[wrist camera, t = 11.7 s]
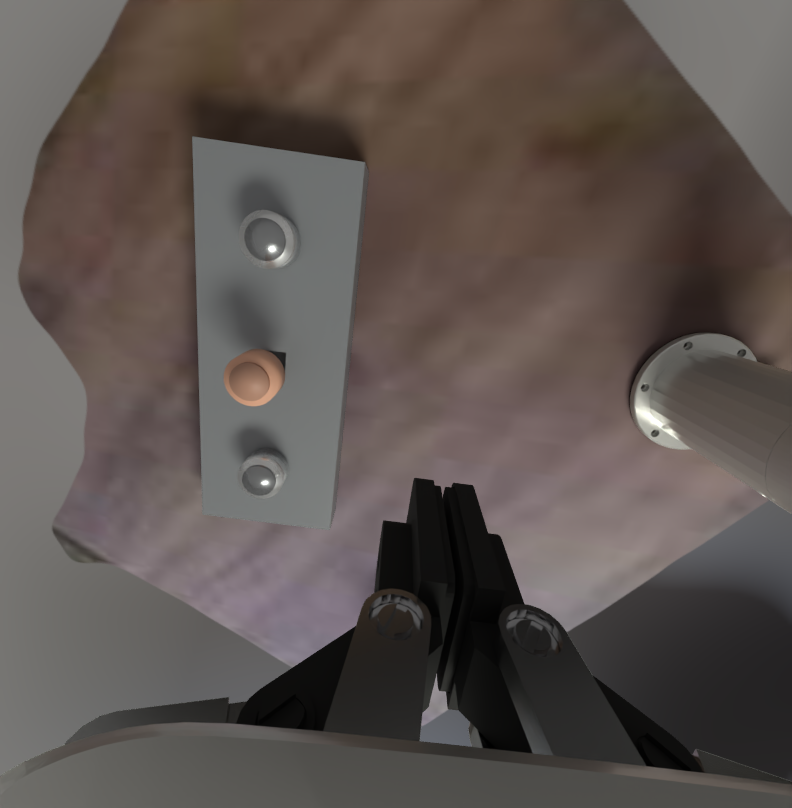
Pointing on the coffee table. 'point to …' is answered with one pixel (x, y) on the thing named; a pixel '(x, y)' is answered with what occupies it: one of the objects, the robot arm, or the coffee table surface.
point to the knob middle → (254, 377)
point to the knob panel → (276, 323)
